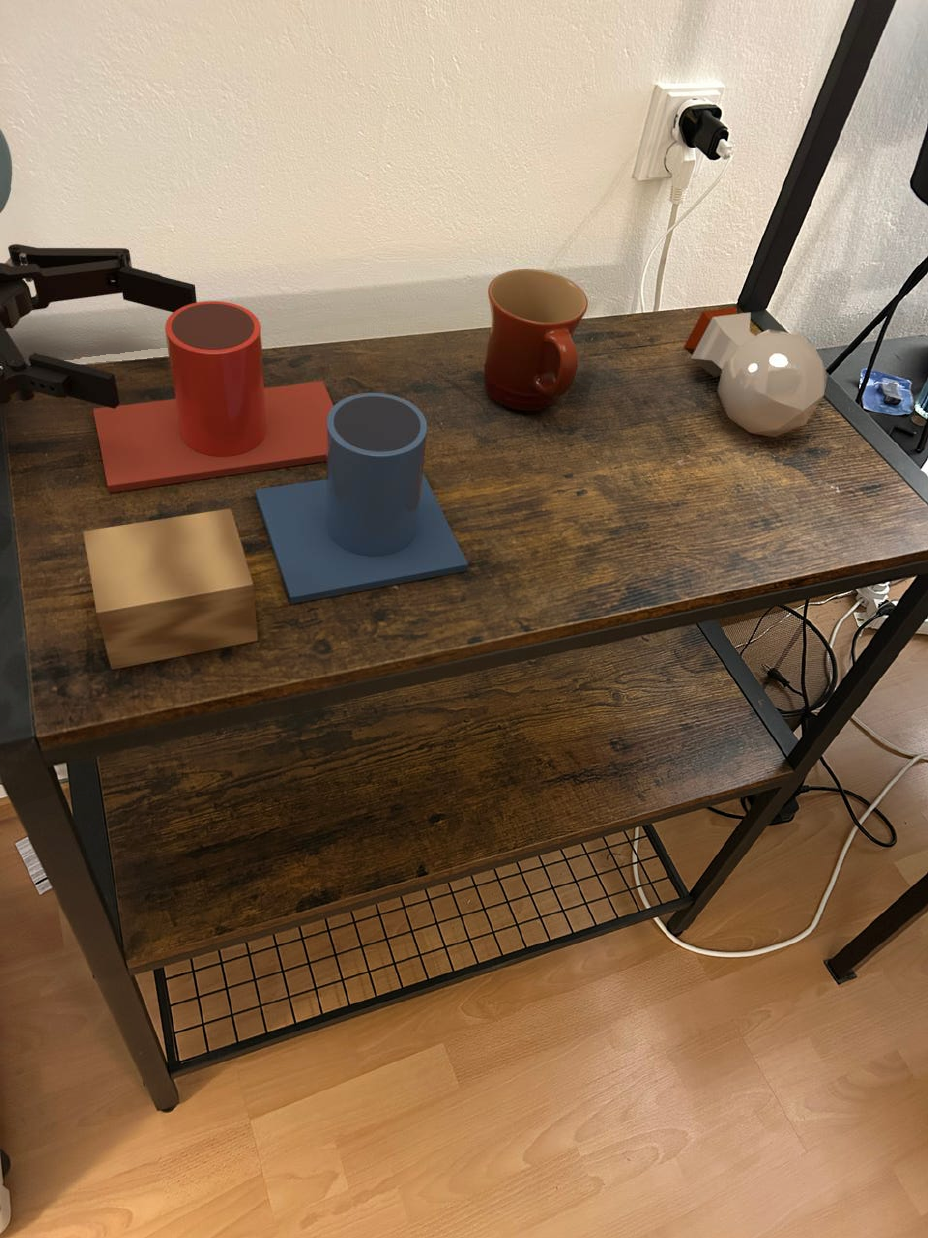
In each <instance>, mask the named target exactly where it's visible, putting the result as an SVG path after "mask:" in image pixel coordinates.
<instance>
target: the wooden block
mask: <svg viewBox="0 0 928 1238" xmlns="http://www.w3.org/2000/svg"><path fill="white" fill-rule="evenodd" d="M82 532H83V533H82V534H83V539H84V540H83V541H84V546H85V551H86V557H87V562H88V563H87V564H88V571H89V575H90V576H89V577H90V582H91V588H92V595H93V601H94V606H95V612H96V617H97V620H98V624H99V628H100V632H101V636H102V639H103V643H104V647H105V650H106V654H107V658H108V661H109V665H110V670H112V671H114V670H118V669H123V668H129V667H133V666H138V665H143V664H149V663H154V662H159V661H163V660H168V659H173V658H178V657H183V656H189V655H193V654H199V653H203V652H209V651H214V650H218V649H224V648H229V647H235V646H239V645H245V644H249V643H254V642H258V641H259V637H258V623H257V610H256V599H255V585H254V581H253V577H252V575H251V571H250V569H249V568H250V567H249V564H248V561H247V558H246V555H245V551H244V548H243V545H242V540H241V538H240V534H239V531H238V527H237V525H236V520H235V518H234V514H233V510H232V509H231V508H225V509H218V510H212V511H205V512H200V513H199V512H198V513H192V514H186V515H179V516H174V517H166V518H161V519H155V520H154V519H153V520H148V521H142V522H141V521H140V522H134V523H129V524H122V525H116V526H109V527H103V528H97V529H91V530H84V531H82Z"/></svg>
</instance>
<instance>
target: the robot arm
mask: <svg viewBox="0 0 928 1238" xmlns="http://www.w3.org/2000/svg"><path fill="white" fill-rule="evenodd" d="M9 146H10V145H9V143H8V141H7V139H6V136H5V135H4V133H3V130H2V129H1V128H0V214H1V213H2V212H3V210H4V209H5V207H6V206H7V203H8V201H9V199H10V195H11V192H12V182H13V161H12V160H13V159H12V154H11V149H10V147H9ZM7 250H8V253H9V258H8V259H7V260H6V261H5V262H0V405H4V404H7V403H10V402H11V400H12V395H13V394H15V393H16V395H17V399H18V400H20V401H23V402H27V401H31V400H33V399H34V398H35V393H40V394H43V395H47V396H51V397H55V398H61V399H67V397H69V398H73V399H77V400H81V401H85V402H88V403H91V404H95V405H99V406H103V407H110V408H114V409H115V408H116V407H117V406H120V404H121V402H120V396H119V392H118V387H117V381H116V375H115V373H113V372H109V371H105V370H102V369H99V368H94V367H90V366H86V365H83V364H79V363H76V362H71V361H67V360H65V359H60V358H56V357H53V356H49V355H45V354H42V353H37V352H33V353H32V354H31V355H30V356H29V357H28V361H29V363H26V359H25V357H24V356H23V354H22V353H21V351H20V350H19V348H18V347H17V344H16V343H15V341H14V340H13V339H12V337H11V335H10V334H9V332H8V331H7V329H13V328H15V327H16V326H17V325H18V323H19V322H20V320H21V319H22V318H23V317H25V316H27V315H29V314H30V313H31V312H32V311H38V310H45V309H47V308H48V307H49V305H50V304H51V303H56V302H64V301H72V300H78V299H86V298H93V297H94V298H95V297H100V296H101V297H102V296H109V295H116V294H122V299H123V300H124V301H127V302H131V303H135V304H138V305H143V306H147V307H151V308H154V309H158V310H161V311H166V312H170V313H174V312H175V311H176V310H178V309H180V308H182V307H184V306H186V305H189V304H193V303H197V301H198V300H197V291H196V284H194V283H189V282H185V281H181V280H177V279H173V278H171V277H166V276H163V275H161V274H159V273H155V272H151V271H147V270H144V269H139V268H136V267H133V265H132V257H131V252H130V250H129V249H128V248H125V247H35V246H30V245H24V244H19V243H14V244H10V245H9V246H8V247H7ZM32 282H33V285H34V290H35V295H34V296H32V293H31V290H30V286H29V284H28V283H32Z"/></svg>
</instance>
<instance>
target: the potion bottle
mask: <svg viewBox="0 0 928 1238" xmlns="http://www.w3.org/2000/svg"><path fill="white" fill-rule="evenodd" d="M683 350H686V352H688V353H689V354H691V358H690V360H692V361H693V362H695V363H696V364H697V365H698V366H700V367H701V368H702V369H703V370H705V371H706V372H707V373H708V374H710V375H711V376H712V377H713V378H717V377H719V376H720V379H719V382H718V386H717V393H718V397H719V398H720V401H721V403H722V406H723V409H724V411H725V413H726V416H727V418H729V419H730V420H731V421H732V422H734V423H735V424H736V425H738V426H739V427H741V428H742V429H743V430H745V431H746V432H748V433H751V434H754V435H760V436H765V437H766V436H767V437H772V438H776V437H779V436H781V435H784V434H786V433H788V432H791V431H793V430H796V429H798V428H800V427H802V426H805V425H806V424H807V423H808V422H809V420H810V418H812V415H813V414H814V413H815V412H816V410H817V408H818V407H819V405H820V403H821V401H822V400H823V398H824V395H825V390H826V386H827V382H828V377H829V375H828V374H827V370H826V367H825V365H824V362H823V360H822V358H821V356H820V354H819V353H818V351H817V349H815V347H814V346H813V345H811V343H810V342H808V340H807V339H805V338H804V337H803V336H802V334H796V333H790V332H786V331H781V330H775V329H770V328H768V329H766V330H764V331H762V332H760V333H758V334H756V335H755V334H754V333H753V332H752V312H743V313H738V311H737V307H736V306H735V307H727V308H720V309H719V308H718V309H717V308H716V309H710V310H709V309H708V310H702V312H701V314H700V316H699V317H698V319H697V321H696V324H695V325H694V327H693V329H692V331H691V333H690V335H689V336H688V338H687V340H686V342H685V344H684V346H683Z"/></svg>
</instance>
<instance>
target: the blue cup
mask: <svg viewBox="0 0 928 1238" xmlns="http://www.w3.org/2000/svg"><path fill="white" fill-rule="evenodd" d="M333 406H334V407H333V408H332V409H331V410H330V412H329V414H328V417H327V433H326V461H325V463H326V464H325V465H326V466H325V467H326V468H325V470H326V471H325V473H326V474H325V475H326V476H325V477H326V478H325V479H326V527H327V531H328V533H329V535H330V536H331V538H332V539H333V540H334V541H335V542H336V543H337V544H338V545H339V546H340V547H342V548H344V549H345V550H347V551H349V552H352V553H355V554H359V555H364V556H385V555H389V554H393V553H395V552H398V551H400V550H402V549H403V548H405V547H406V546H407V545H408V544H410V542H411V541H412V540H413V538H414V537H415V534H416V531H417V525H418V515H419V505H420V495H421V486H422V476H423V473H424V466H425V455H426V447H427V446H426V445H427V436H428V422H427V419H426V416H425V415H424V414H423V412H422V411H421V410H420V409H419V408H418V407H417V406H416V405H414V404H413V403H412V402H410V401H408V400H406V399H404V398H402V397H399V396H396V395H393V394H389V393H383V392H365V393H364V392H363V393H357V394H354V395H350V396H348V397H345V398H343V399H341V400H339V401H338V402H337V403H336V404H334V405H333Z"/></svg>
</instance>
